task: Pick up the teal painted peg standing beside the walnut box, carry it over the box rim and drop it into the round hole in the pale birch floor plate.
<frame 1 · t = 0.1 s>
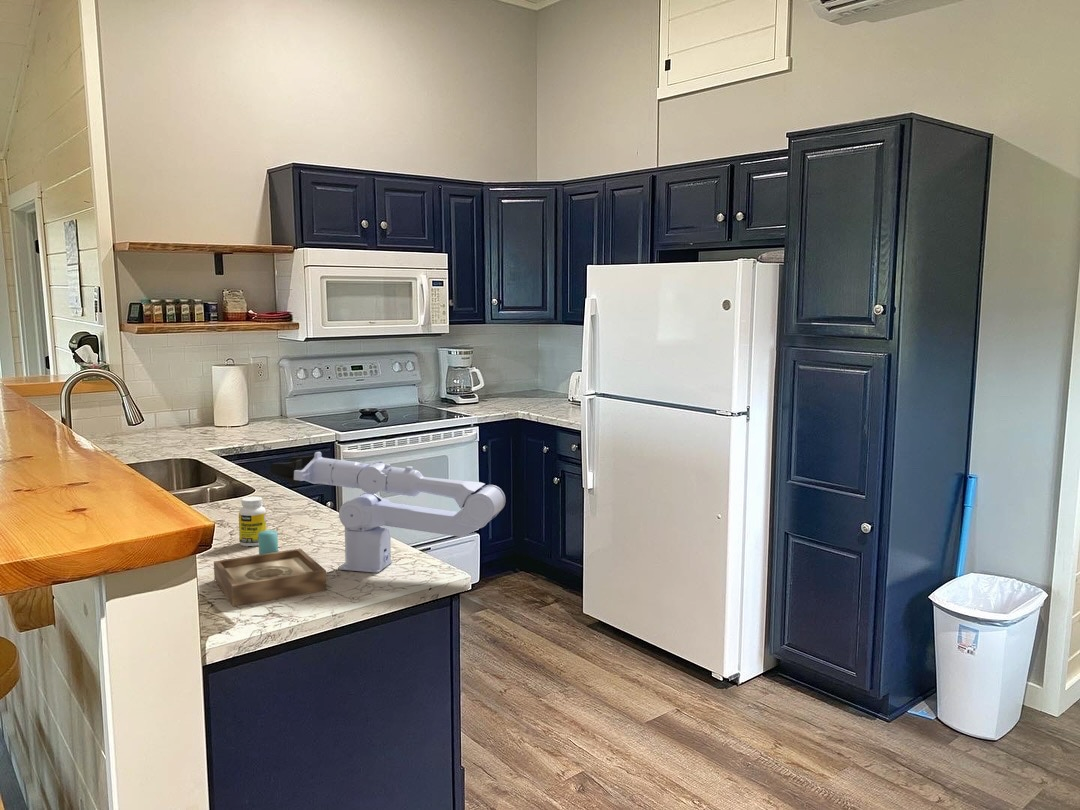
hand: (280, 465, 183), 22 cm above the worktop, tool horizontal, fingers open, 7 cm apart
peg: (268, 563, 183), on the worktop
walnut box: (269, 584, 168), on the worktop
pill bottle: (253, 544, 198), on the worktop
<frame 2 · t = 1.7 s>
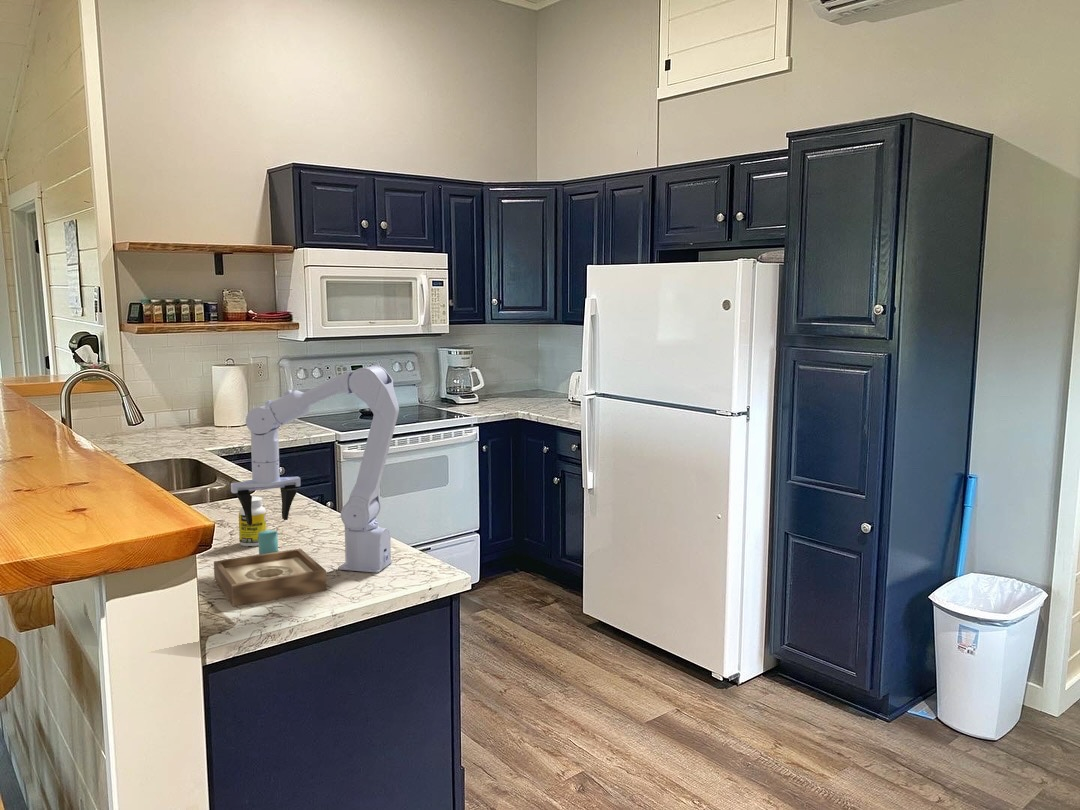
hand: (267, 521, 181), 10 cm above the worktop, tool pointing down, fingers open, 7 cm apart
nothing on the worktop moved.
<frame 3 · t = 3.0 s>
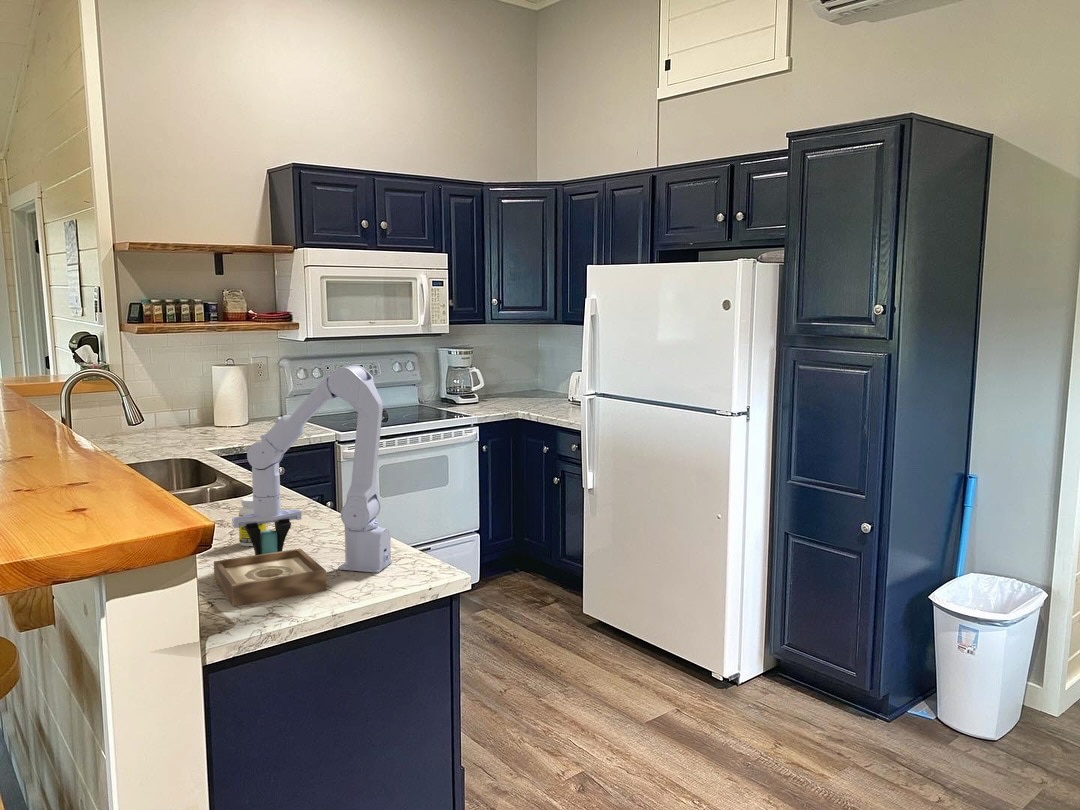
hand: (268, 554, 182), 2 cm above the worktop, tool pointing down, fingers closed on peg, 4 cm apart
peg: (268, 563, 183), on the worktop, touching gripper
everything else where it was.
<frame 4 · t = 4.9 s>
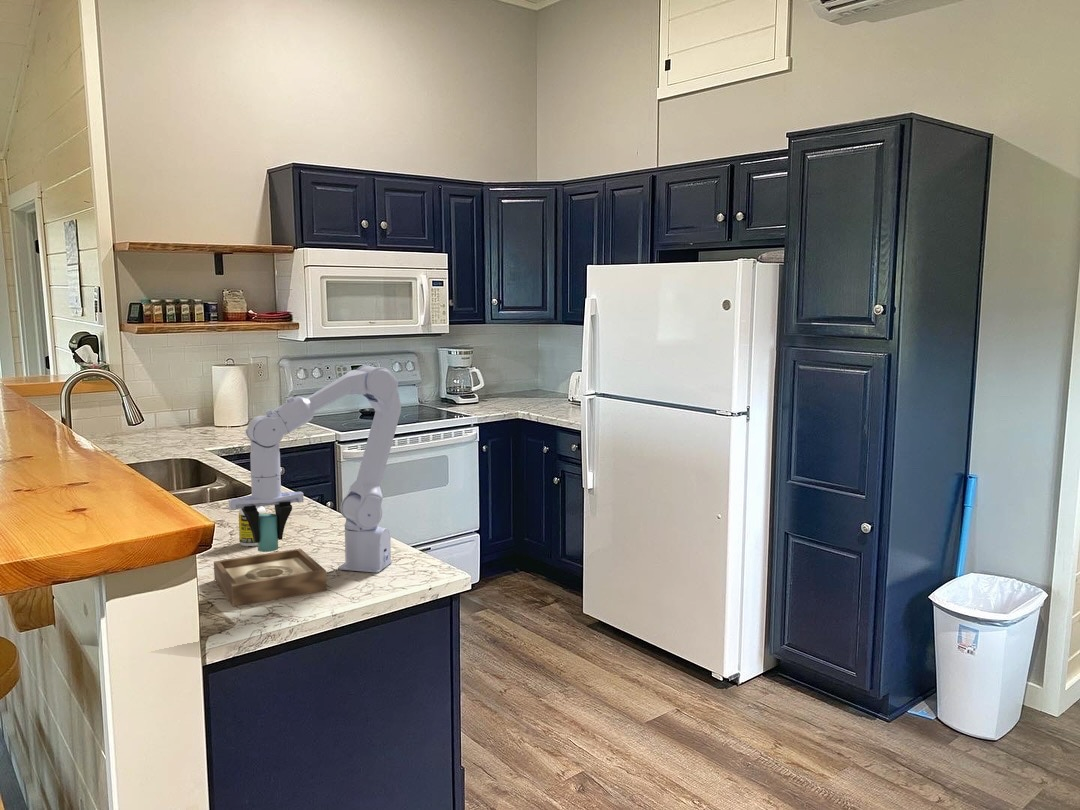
hand: (267, 540, 169), 9 cm above the worktop, tool pointing down, fingers closed on peg, 4 cm apart
peg: (268, 549, 169), point 7 cm above the worktop, touching gripper
everything else where it was.
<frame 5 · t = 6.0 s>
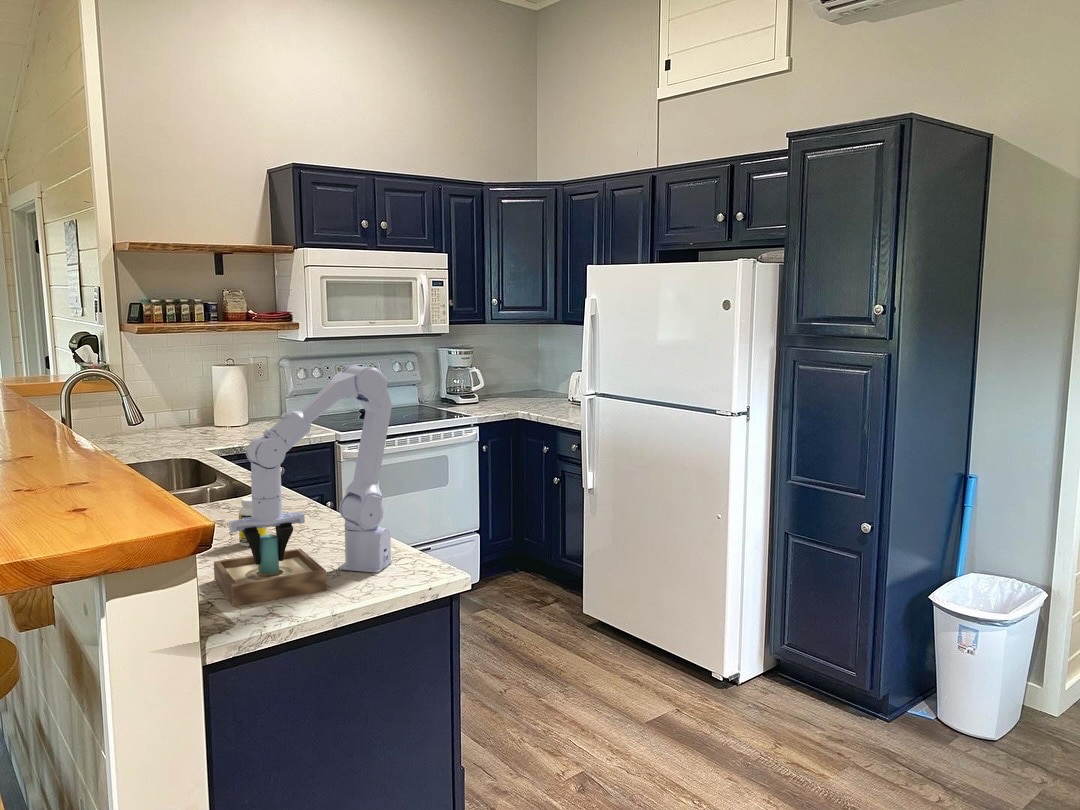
hand: (268, 561, 168), 5 cm above the worktop, tool pointing down, fingers closed on peg, 4 cm apart
peg: (268, 570, 168), point 3 cm above the worktop, touching gripper
everything else where it was.
when the fingers open (4 cm above the worktop, at t = 6.7 s): peg drops 2 cm, resting in walnut box.
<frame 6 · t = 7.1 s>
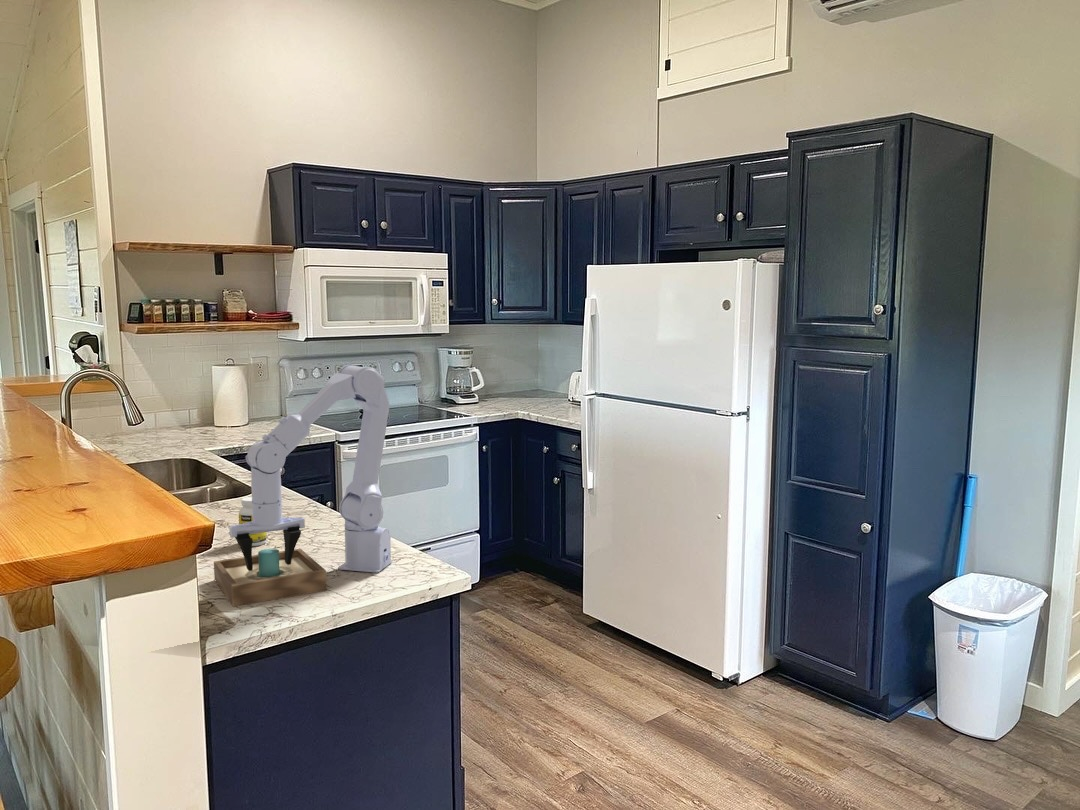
hand: (269, 566, 168), 4 cm above the worktop, tool pointing down, fingers open, 7 cm apart
peg: (269, 584, 168), resting in walnut box
everything else where it was.
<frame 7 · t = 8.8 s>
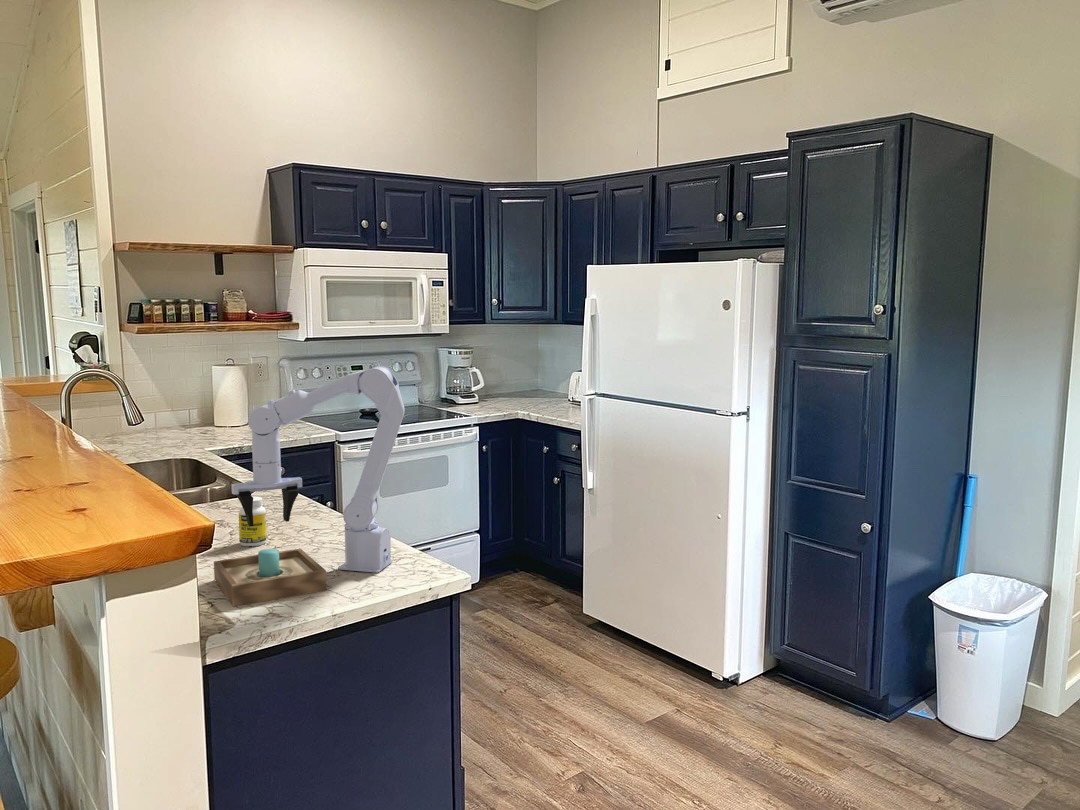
hand: (268, 523, 178), 10 cm above the worktop, tool pointing down, fingers open, 7 cm apart
nothing on the worktop moved.
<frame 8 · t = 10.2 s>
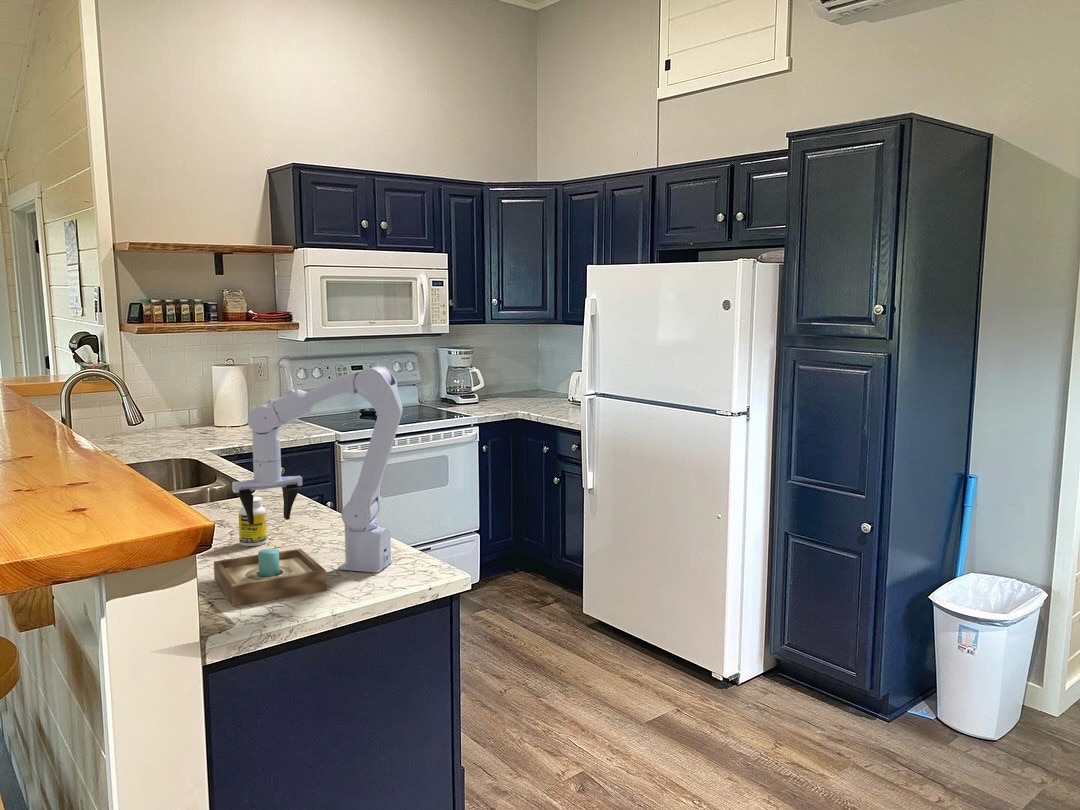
hand: (269, 521, 180), 10 cm above the worktop, tool pointing down, fingers open, 7 cm apart
nothing on the worktop moved.
at the end: peg 0.1 cm off-centre on the walnut box, point 0.0 cm above the walnut box's base; peg tilted 0°; the gripper is holding nothing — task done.
